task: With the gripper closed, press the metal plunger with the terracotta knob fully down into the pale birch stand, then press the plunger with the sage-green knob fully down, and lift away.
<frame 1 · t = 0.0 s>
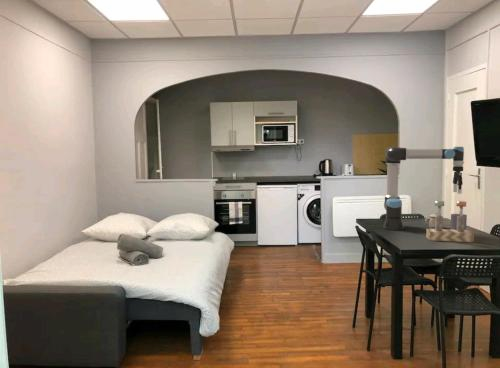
hand: (457, 192, 343), 28 cm above the table, tool pointing down, fingers open, 13 cm apart
sage plunger: (439, 211, 300), point 19 cm above the table, slide at 6.0 cm
container: (458, 235, 315), on the table
terracotta plunger: (461, 212, 297), point 19 cm above the table, slide at 6.0 cm
teacup with lid: (433, 227, 348), on the table
press stand: (449, 239, 300), on the table
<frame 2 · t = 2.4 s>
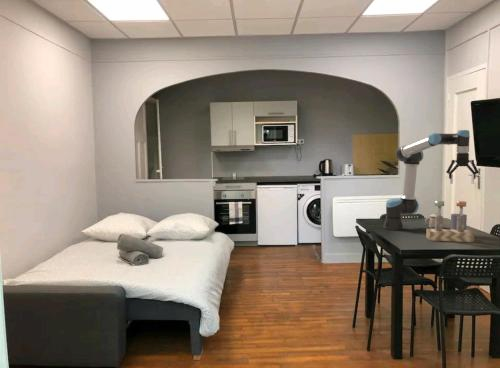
hand: (461, 183, 297), 39 cm above the table, tool pointing down, fingers open, 13 cm apart
nothing on the table moved.
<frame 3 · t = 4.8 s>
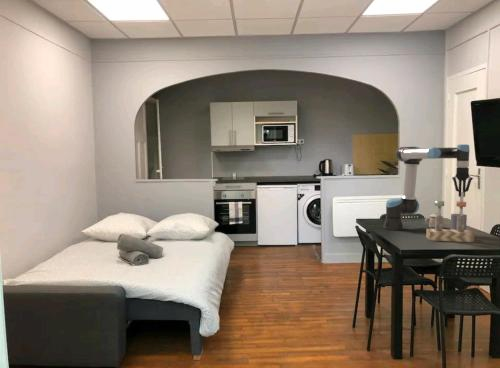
hand: (461, 201, 296), 27 cm above the table, tool pointing down, fingers closed
terracotta plunger: (461, 212, 297), point 19 cm above the table, slide at 5.9 cm, touching gripper
everything else where it was.
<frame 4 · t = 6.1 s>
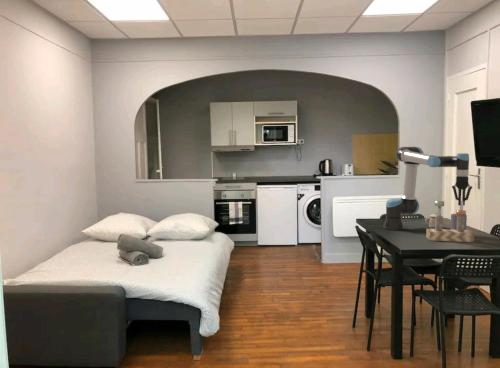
hand: (461, 210, 296), 21 cm above the table, tool pointing down, fingers closed
terracotta plunger: (460, 220, 297), point 13 cm above the table, slide at -0.1 cm, touching gripper
everything else where it was.
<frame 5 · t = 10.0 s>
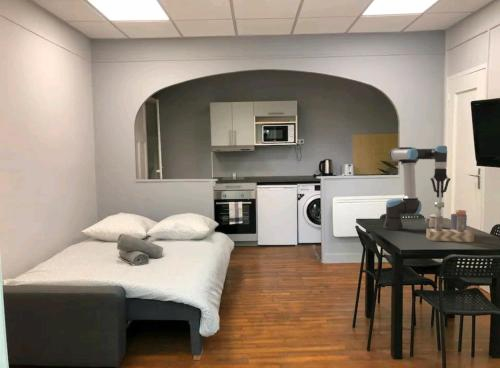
hand: (439, 202, 299), 26 cm above the table, tool pointing down, fingers closed
sage plunger: (439, 212, 300), point 19 cm above the table, slide at 5.1 cm, touching gripper
terracotta plunger: (460, 220, 297), point 13 cm above the table, slide at -0.1 cm
everything else where it was.
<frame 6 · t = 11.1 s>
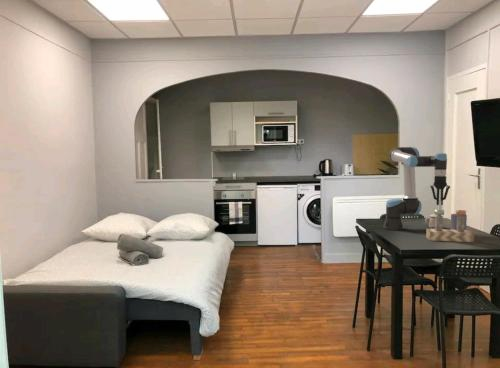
hand: (439, 209, 299), 21 cm above the table, tool pointing down, fingers closed
sage plunger: (439, 220, 300), point 13 cm above the table, slide at -0.1 cm, touching gripper
everything else where it was.
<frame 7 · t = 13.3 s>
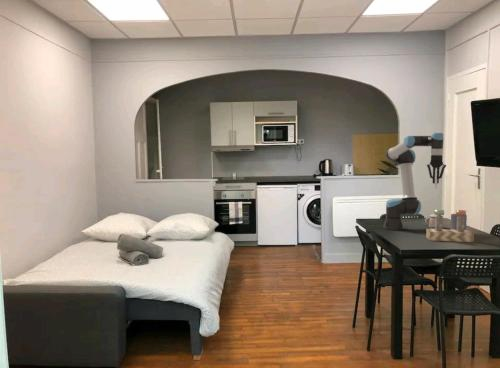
hand: (435, 188, 307), 35 cm above the table, tool pointing down, fingers closed
sage plunger: (439, 220, 300), point 13 cm above the table, slide at -0.1 cm
everything else where it was.
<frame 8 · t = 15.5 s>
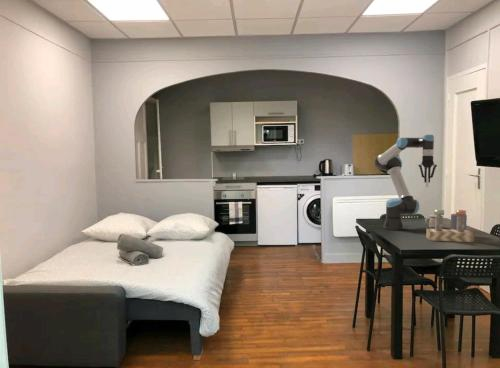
hand: (427, 186, 324), 34 cm above the table, tool pointing down, fingers closed
nothing on the table moved.
at the end: terracotta plunger slide at -0.1 cm; sage plunger slide at -0.1 cm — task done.
